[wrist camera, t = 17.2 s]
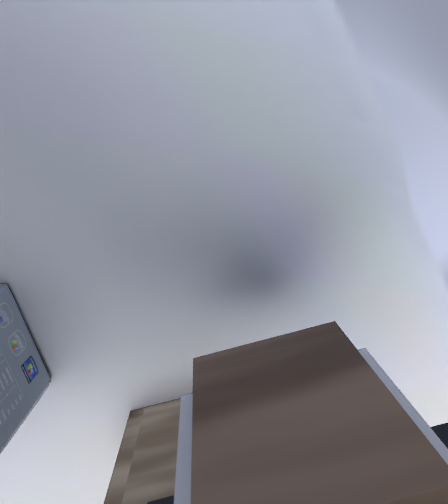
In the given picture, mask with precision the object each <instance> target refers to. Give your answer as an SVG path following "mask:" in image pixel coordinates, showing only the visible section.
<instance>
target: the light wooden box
mask: <svg viewBox="0 0 448 504" xmlns="http://www.w3.org/2000/svg"><path fill="white" fill-rule="evenodd" d="M180 403H181V399H177V400H173V401H169V402H165V403H161V404H157V405H153V406H149V407H145V408H141V409H138V410H134V411H130V414H129V418H128V421H127V425H126V428H125V432H124V435H123V438H122V442H121V445H120V449H119V452H118V456H117V459H116V463H115V466H114V470H113V473H112V477H111V480H110V484H109V487H108V490H107V494H106V497H105V501H104V504H147V503H148V502H150V501H153V500H157V499H161V498H165V497H169V496H173V495H174V492H175V477H176V462H177V447H178V432H179V418H180Z"/></svg>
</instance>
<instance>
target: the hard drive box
mask: <svg viewBox="0 0 448 504" xmlns="http://www.w3.org/2000/svg"><path fill="white" fill-rule="evenodd" d="M49 382H50V377H49V375H48V373H47V371H46V368H45V366H44V364H43V362H42V360H41V358H40V355H39V353H38V351H37V349H36V346H35V344H34V342H33V340H32V338H31V335H30V333H29V331H28V329H27V327H26V325H25V322H24V320H23V318H22V316H21V314H20V311H19V309H18V307H17V305H16V302H15V300H14V298H13V296H12V294H11V292H10V290H9V288H8V286H7V285H6V284H0V454H1V452H2V451H3V449H4V448H5V447H6V445H7V444H8V442H9V441H10V440H11V438H12V437H13V436H14V434H15V433H16V431H17V430H18V429H19V427H20V426H21V424H22V423H23V422H24V420H25V419H26V417H27V416H28V414H29V413H30V412H31V410H32V409H33V408H34V406H35V405H36V403H37V402H38V401H39V399H40V398H41V396H42V395H43V394H44V392H45V391H46V389H47V388H48V386H49Z"/></svg>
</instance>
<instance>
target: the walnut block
mask: <svg viewBox="0 0 448 504" xmlns="http://www.w3.org/2000/svg"><path fill="white" fill-rule="evenodd" d="M191 504H448V464H447V463H446V462H445V461H444V459H443V458H442V457H441V456H440V454H439V453H438V452H437V450H436V449H435V448H434V447H433V445H432V444H431V443H430V442H429V440H428V439H427V438H426V436H425V435H424V434H423V433H422V431H421V430H420V429H419V428H418V426H417V425H416V424H415V422H414V421H413V420H412V419H411V417H410V416H409V415H408V414H407V412H406V411H405V410H404V409H403V407H402V406H401V405H400V403H399V402H398V401H397V400H396V398H395V397H394V396H393V395H392V393H391V392H390V391H389V389H388V388H387V387H386V386H385V384H384V383H383V382H382V381H381V379H380V378H379V377H378V375H377V374H376V373H375V372H374V370H373V369H372V368H371V367H370V365H369V364H368V363H367V361H366V360H365V359H364V358H363V356H362V355H361V354H360V353H359V351H358V350H357V349H356V348H355V346H354V345H353V344H352V342H351V341H350V340H349V339H348V337H347V336H346V335H345V334H344V332H343V331H342V330H341V328H340V327H339V326H338V325H337V323H336V322H335V321H334V322H330V323H326V324H322V325H319V326H315V327H311V328H307V329H303V330H300V331H296V332H292V333H288V334H284V335H281V336H277V337H273V338H269V339H265V340H262V341H258V342H254V343H250V344H246V345H243V346H239V347H235V348H231V349H227V350H224V351H220V352H216V353H212V354H208V355H204V356H201V357H197V358H193V406H192V460H191Z"/></svg>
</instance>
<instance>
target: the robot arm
mask: <svg viewBox="0 0 448 504" xmlns="http://www.w3.org/2000/svg"><path fill="white" fill-rule="evenodd" d="M358 351H359V353H360V354H361V355H362V356H363V358H364V359H365V360H366V361H367V363H368V364H369V365H370V367H371V368H372V369H373V370H374V372H375V373H376V374H377V375H378V377H379V378H380V379H381V381H382V382H383V383H384V384H385V386H386V387H387V388H388V389H389V391H390V392H391V393H392V395H393V396H394V397H395V398H396V400H397V401H398V402H399V403H400V405H401V406H402V407H403V409H404V410H405V411H406V412H407V414H408V415H409V416H410V417H411V419H412V420H413V421H414V422H415V424H416V425H417V426H418V428H419V429H420V430H421V431H422V433H423V434H424V435H425V436H426V438H427V439H428V440H429V442H430V443H431V444H432V445H433V447H434V448H435V449H436V450H437V452H438V453H439V454H440V456H441V457H442V458H443V459H444V461H445V462H446V463H447V464H448V423H445V424H441V425H437V426H433V427H429V425H428V424H427V423H426V422H425V420H424V419H423V418H422V417H421V416H420V414H419V413H418V412H417V411H416V410H415V408H414V407H413V406H412V405H411V403H410V402H409V401H408V400H407V399H406V397H405V396H404V395H403V394H402V392H401V391H400V390H399V389H398V388H397V386H396V385H395V384H394V383H393V381H392V380H391V379H390V378H389V377H388V375H387V374H386V373H385V372H384V370H383V369H382V368H381V367H380V366H379V364H378V363H377V362H376V361H375V359H374V358H373V357H372V356H371V355H370V353H369V352H368V351H367V350H366V348H363V349H360V350H358ZM192 406H193V393H191V394H187V395H184V396H181V403H180V418H179V432H178V447H177V462H176V477H175V492H174V495H173V496H169V497H165V498H161V499H157V500H153V501H150V502H148V503H147V504H191V460H192Z"/></svg>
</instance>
